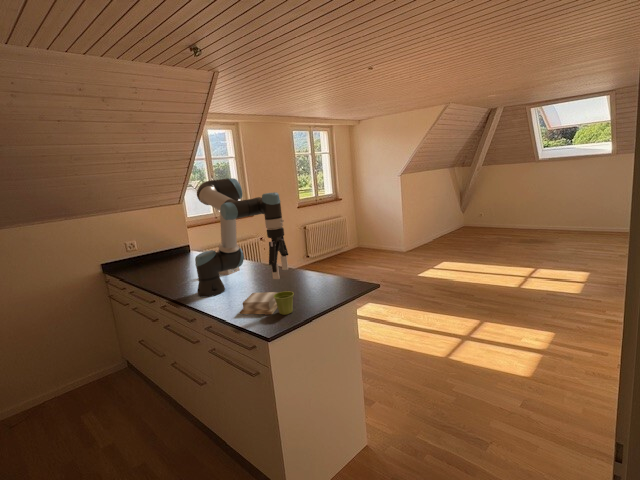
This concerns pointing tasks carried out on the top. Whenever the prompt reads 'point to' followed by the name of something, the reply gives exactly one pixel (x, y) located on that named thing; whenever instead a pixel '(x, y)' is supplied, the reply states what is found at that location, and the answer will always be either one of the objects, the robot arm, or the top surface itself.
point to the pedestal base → (260, 303)
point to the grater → (229, 270)
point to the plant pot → (284, 302)
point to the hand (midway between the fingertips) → (281, 274)
